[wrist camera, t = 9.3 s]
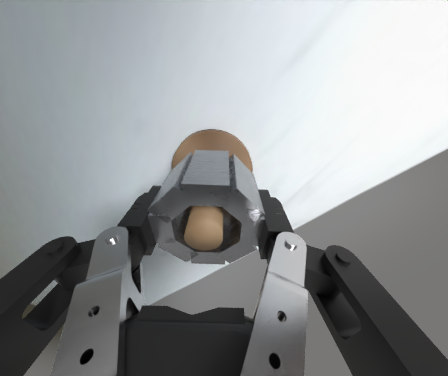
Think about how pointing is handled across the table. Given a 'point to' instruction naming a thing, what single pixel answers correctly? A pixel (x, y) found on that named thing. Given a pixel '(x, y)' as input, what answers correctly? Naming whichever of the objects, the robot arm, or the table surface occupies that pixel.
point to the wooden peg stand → (208, 215)
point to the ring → (208, 196)
